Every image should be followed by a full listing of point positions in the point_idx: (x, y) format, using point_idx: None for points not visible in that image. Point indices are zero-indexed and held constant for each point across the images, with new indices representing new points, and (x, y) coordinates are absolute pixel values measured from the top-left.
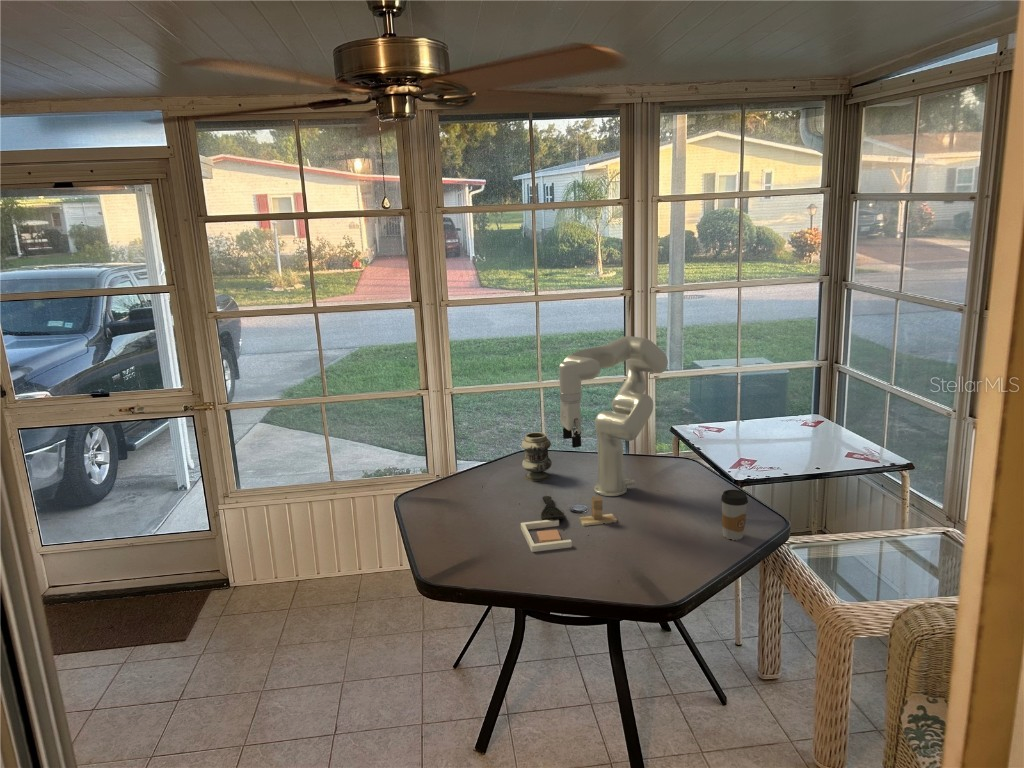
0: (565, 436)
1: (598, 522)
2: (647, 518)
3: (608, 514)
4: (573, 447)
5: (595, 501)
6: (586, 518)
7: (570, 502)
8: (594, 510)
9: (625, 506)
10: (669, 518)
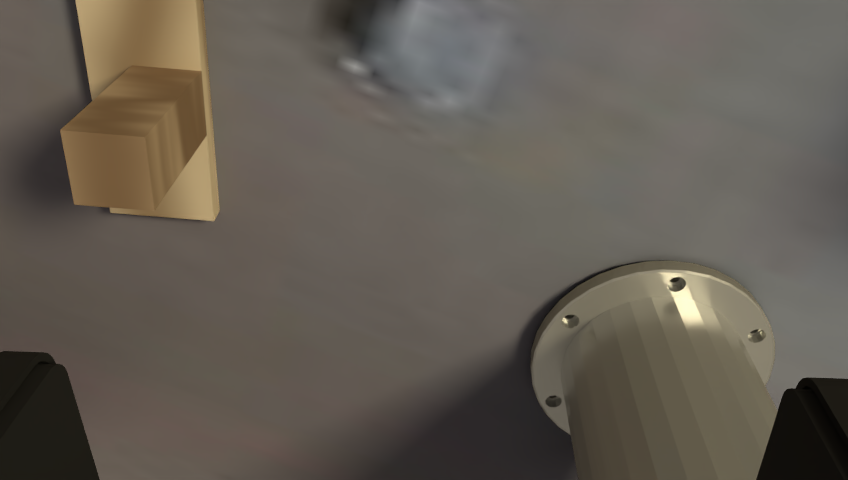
0: (806, 468)
1: (91, 79)
2: (147, 376)
3: (204, 194)
4: (10, 361)
5: (65, 139)
6: (159, 12)
7: (572, 12)
8: (100, 95)
9: (354, 339)
10: (129, 463)
